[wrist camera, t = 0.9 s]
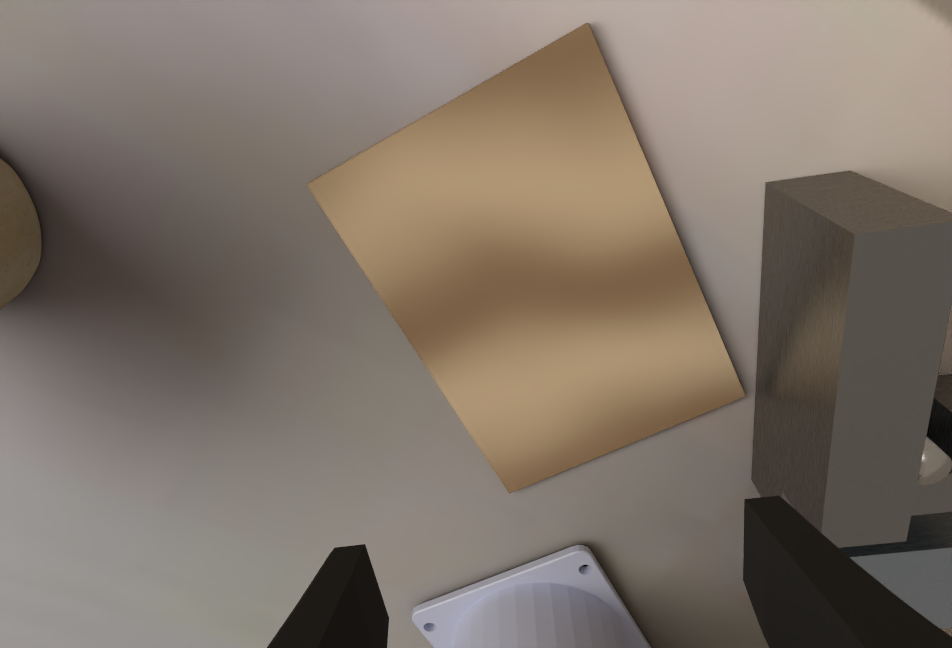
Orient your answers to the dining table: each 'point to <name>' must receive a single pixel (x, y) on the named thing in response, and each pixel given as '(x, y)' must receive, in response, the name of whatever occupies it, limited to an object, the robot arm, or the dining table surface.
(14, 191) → the flower pot
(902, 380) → the uneven u-shaped block
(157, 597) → the dining table surface
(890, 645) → the robot arm
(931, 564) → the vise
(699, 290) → the plate
